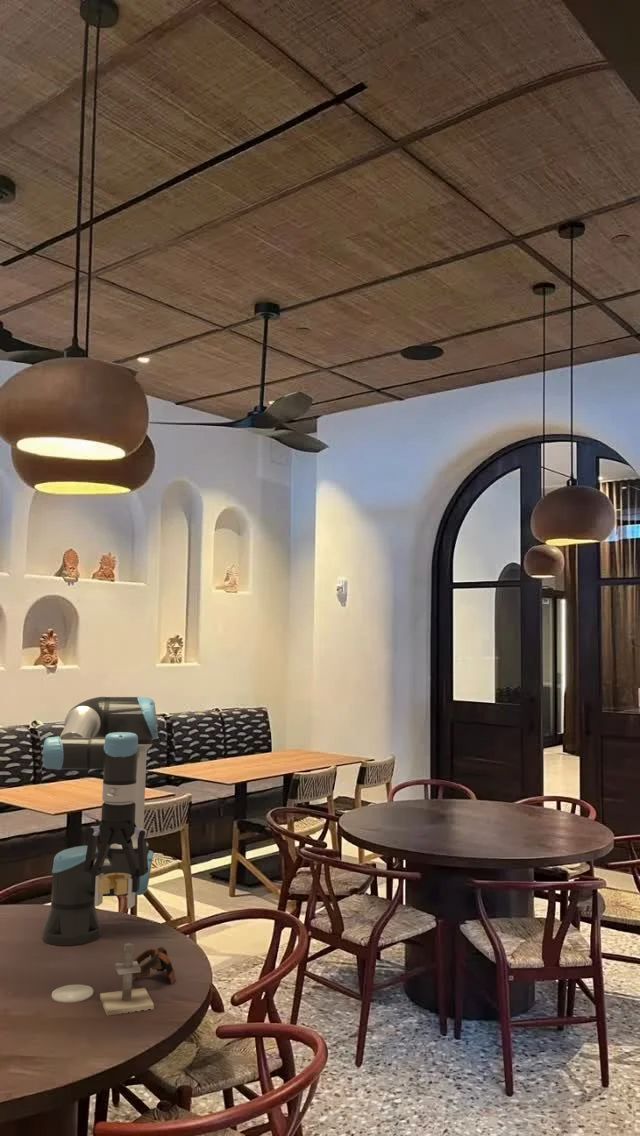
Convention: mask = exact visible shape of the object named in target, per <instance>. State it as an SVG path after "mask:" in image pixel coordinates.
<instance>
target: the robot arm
mask: <svg viewBox="0 0 640 1136" xmlns="http://www.w3.org/2000/svg"><path fill="white" fill-rule="evenodd" d="M155 704H156V703H155V700H154V699H152V698H151V697H143V696H97V697H93V698H89V699H87V700H84V701H82V702H80V703H78V704H76V705H75V706H73V707H72V708H71V709H70V710H69V711H68V713H67V714H66V716H65V719H64V728H63V730H62V731H61V733H60V736H59V735H55V736H51V737H47V738H45V739H44V742H43V747H42V748H43V749H42V765H43V768H45V769H47V770H56V771H61V770H103V780H102V794H101V795H102V797H101V798H102V799H101V800H102V801H103V802H102V804H101V816H100V817H101V818H100V819H101V822H100V824H99V825H93V826H91V827H88V828H87V830H86V831H87V837H88V839H87V840H88V843H87V845H79V846H73V847H70V848H65V849H62V850H61V851H59V852H58V853H56V854H55V856H54V858H53V863H52V864H53V865H52V870H51V874H52V877H51V881H52V882H51V895H50V897H51V899H50V900H51V901H50V910H49V913H48V916H47V918H46V922H44V923H45V924H44V926H43V929H42V940H43V941H44V943H47V944H50V945H54V946H55V945H56V946H77V945H82V944H86V943H87V944H88V943H91V942H93V941H96V940H97V939H98V938H100V936H101V923H100V919H99V916H98V912H97V908H96V907H98V906H100V905H101V904H103V902H104V901H103V900H104V897H123V896H125V897H127V899H126V900H127V905H126V906H127V907H126V908H127V909H129V910H131V908H133V907H134V906H135V905H136V896H141V895H144V894H145V893H146V892H147V890H148V888H149V887H148V886H149V881H150V875H151V870H152V863H153V856H154V851H152V850H150V849H149V843H148V841H147V838H148V837H147V836H148V833H149V830H148V828H145V827H144V826H145V825H144V823H145V802H146V801H145V800H146V777H147V776H146V775H147V756H148V755H147V754H148V753H147V752H148V751H149V749H150V748H151V747H152V746H153V741H154V740H156V739H158V737H159V735H158V734H159V733H158V724H157V723H158V722H157V714H156V705H155ZM100 834H101V835H102V836H103V841H102V843H101V847H100V850H99V849H98V840H99V839H98V838H99V835H100ZM110 873H127V874H130V875H132V876H131V877H130V878H128V893H127V894H122V895H116V894H114V888H113V889H110V893H108V894H101V893H100V892H99V877H101V876H102V875H105V874H110Z"/></svg>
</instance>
